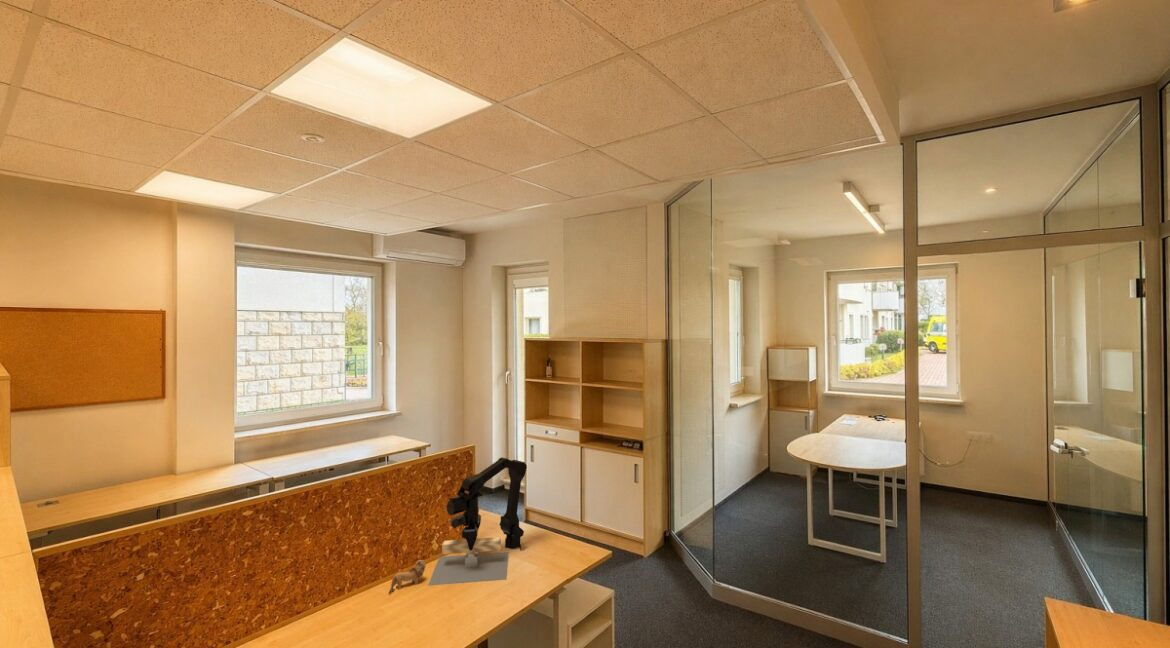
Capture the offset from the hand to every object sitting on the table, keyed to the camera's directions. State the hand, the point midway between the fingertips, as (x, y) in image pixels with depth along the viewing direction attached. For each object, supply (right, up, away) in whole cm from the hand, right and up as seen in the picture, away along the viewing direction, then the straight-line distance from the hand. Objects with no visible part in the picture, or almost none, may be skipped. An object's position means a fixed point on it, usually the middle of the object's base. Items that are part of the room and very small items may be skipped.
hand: (472, 545), depth 211 cm
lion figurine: (-21, -9, -17) cm, 29 cm away
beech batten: (0, -2, 0) cm, 2 cm away
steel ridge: (0, -7, 0) cm, 7 cm away
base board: (+1, -8, -5) cm, 10 cm away
